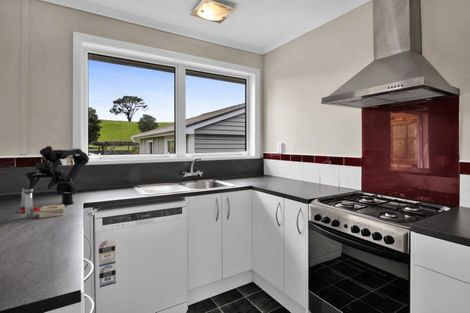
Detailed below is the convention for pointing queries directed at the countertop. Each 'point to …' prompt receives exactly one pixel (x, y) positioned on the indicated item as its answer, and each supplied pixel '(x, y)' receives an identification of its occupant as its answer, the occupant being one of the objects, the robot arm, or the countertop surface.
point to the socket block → (51, 211)
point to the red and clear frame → (22, 208)
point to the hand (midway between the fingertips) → (39, 188)
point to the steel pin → (28, 203)
